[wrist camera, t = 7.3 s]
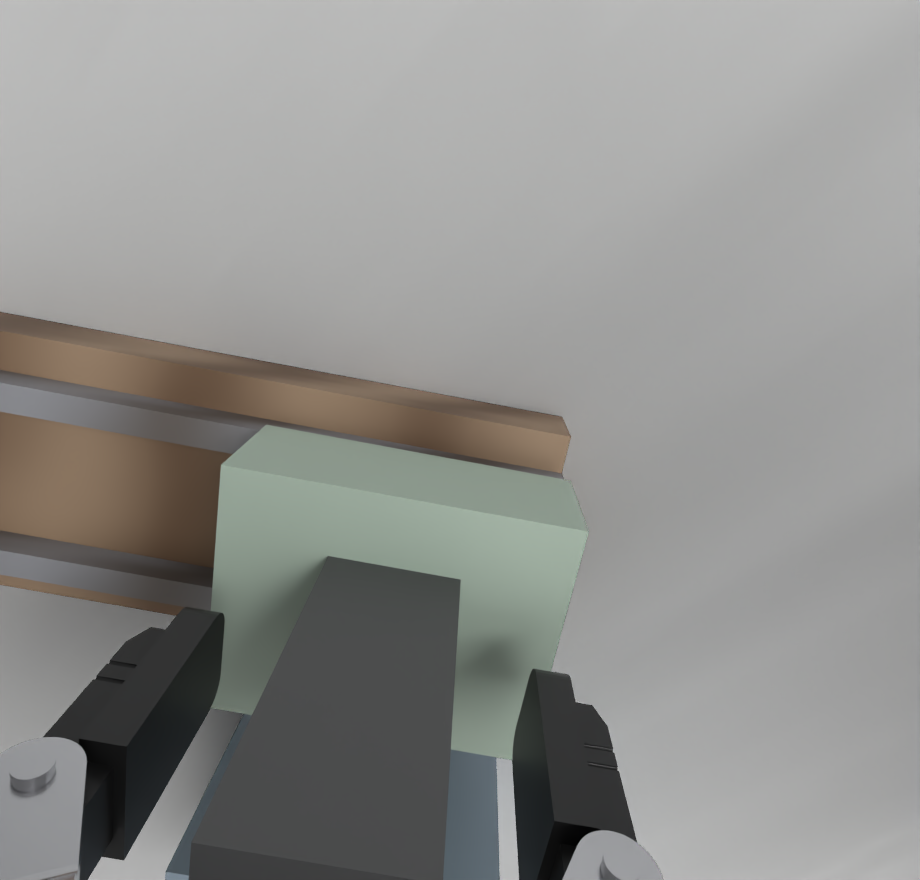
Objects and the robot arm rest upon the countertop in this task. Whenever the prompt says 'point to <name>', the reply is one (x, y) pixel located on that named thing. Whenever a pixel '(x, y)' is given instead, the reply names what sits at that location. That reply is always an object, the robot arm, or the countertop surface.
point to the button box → (467, 823)
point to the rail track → (185, 452)
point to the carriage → (372, 646)
